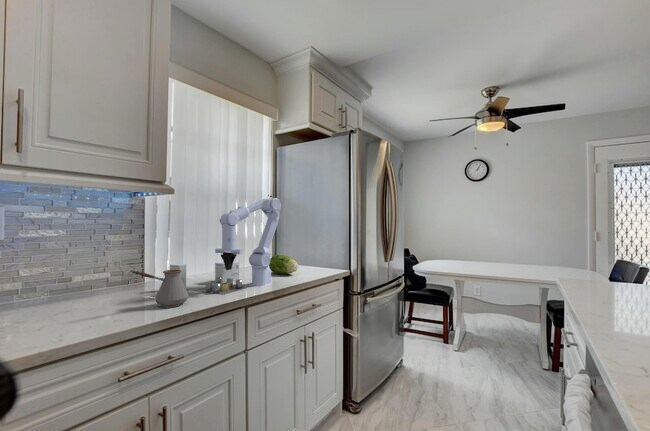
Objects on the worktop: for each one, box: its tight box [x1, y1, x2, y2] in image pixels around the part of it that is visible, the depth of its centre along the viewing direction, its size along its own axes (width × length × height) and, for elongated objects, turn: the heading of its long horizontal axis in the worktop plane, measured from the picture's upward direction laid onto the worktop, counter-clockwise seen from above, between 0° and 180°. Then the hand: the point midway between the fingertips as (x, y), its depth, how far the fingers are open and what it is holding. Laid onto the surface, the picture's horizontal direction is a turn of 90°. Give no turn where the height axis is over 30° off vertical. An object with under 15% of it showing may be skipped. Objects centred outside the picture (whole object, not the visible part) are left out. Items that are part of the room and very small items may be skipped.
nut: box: [220, 282, 231, 291], centre depth 142 cm, size 5×5×3 cm
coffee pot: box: [127, 269, 190, 308], centre depth 115 cm, size 21×12×15 cm, turn 148°
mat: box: [193, 286, 247, 296], centre depth 143 cm, size 15×18×1 cm
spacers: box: [205, 277, 243, 295], centre depth 143 cm, size 15×16×4 cm
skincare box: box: [169, 263, 187, 290], centre depth 144 cm, size 6×4×12 cm
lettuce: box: [268, 254, 299, 275], centre depth 188 cm, size 12×21×11 cm, turn 50°
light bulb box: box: [214, 260, 240, 283], centre depth 162 cm, size 11×7×11 cm, turn 145°
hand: (228, 269), depth 141 cm, fingers closed
